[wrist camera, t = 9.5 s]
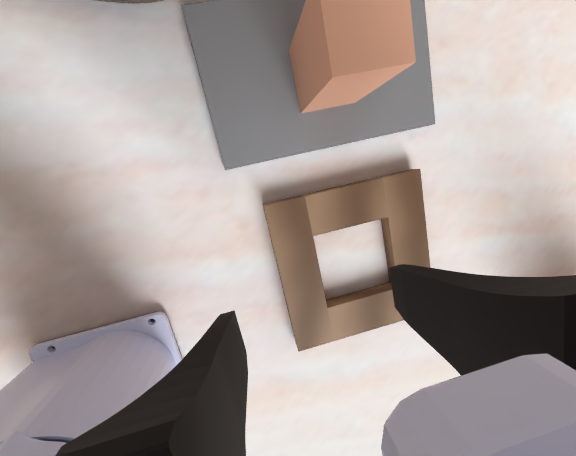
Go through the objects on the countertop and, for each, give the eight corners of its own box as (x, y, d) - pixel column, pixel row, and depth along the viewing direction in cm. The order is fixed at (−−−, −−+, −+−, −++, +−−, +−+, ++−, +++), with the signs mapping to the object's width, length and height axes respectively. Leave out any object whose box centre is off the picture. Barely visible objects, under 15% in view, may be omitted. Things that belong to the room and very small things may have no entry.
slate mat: (225, 169, 19) (225, 169, 18) (183, 11, 17) (181, 5, 16) (429, 125, 21) (435, 123, 20) (416, -25, 18) (421, -32, 18)
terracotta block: (300, 113, 19) (332, 77, 12) (288, 50, 18) (315, -29, 11) (355, 102, 19) (415, 62, 12) (346, 40, 18) (406, -42, 11)
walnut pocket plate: (295, 342, 23) (298, 351, 21) (262, 204, 20) (263, 206, 19) (425, 304, 24) (434, 310, 23) (410, 169, 21) (420, 169, 20)
